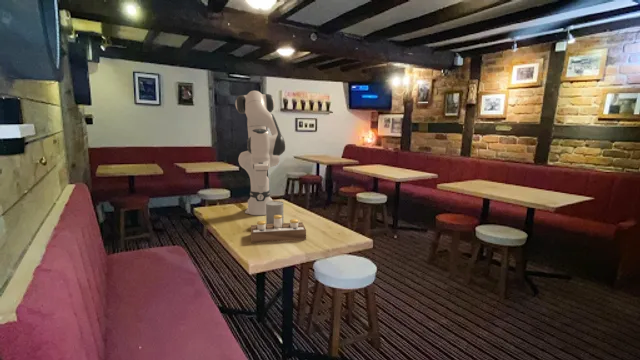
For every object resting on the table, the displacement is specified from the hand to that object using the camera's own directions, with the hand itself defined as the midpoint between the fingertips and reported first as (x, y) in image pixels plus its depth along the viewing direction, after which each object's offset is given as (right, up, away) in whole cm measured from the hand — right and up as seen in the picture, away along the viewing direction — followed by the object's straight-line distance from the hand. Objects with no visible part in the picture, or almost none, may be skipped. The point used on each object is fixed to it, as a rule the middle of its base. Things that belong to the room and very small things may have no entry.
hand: (260, 192), depth 160 cm
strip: (+8, -18, +1) cm, 20 cm away
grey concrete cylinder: (+3, -19, +25) cm, 31 cm away
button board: (+8, -22, +6) cm, 24 cm away
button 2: (+15, -22, +7) cm, 28 cm away
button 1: (0, -22, +4) cm, 22 cm away
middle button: (+8, -19, +5) cm, 21 cm away
